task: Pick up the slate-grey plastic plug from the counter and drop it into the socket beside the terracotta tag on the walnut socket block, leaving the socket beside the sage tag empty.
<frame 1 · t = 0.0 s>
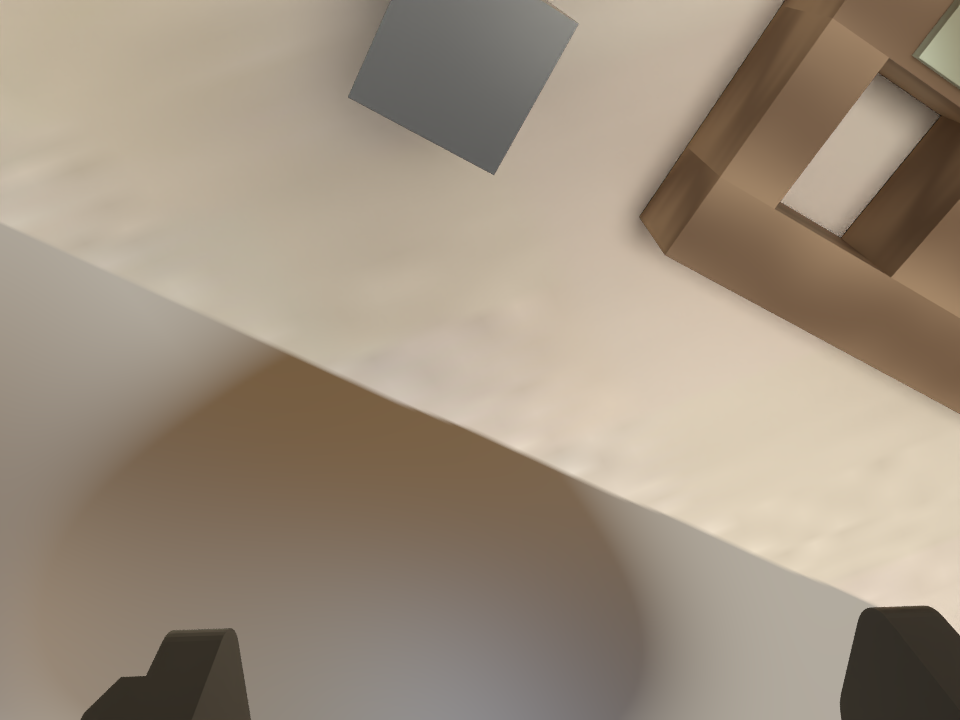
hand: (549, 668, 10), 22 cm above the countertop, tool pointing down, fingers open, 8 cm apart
socket block: (924, 202, 30), on the countertop
plug: (454, 15, 26), on the countertop
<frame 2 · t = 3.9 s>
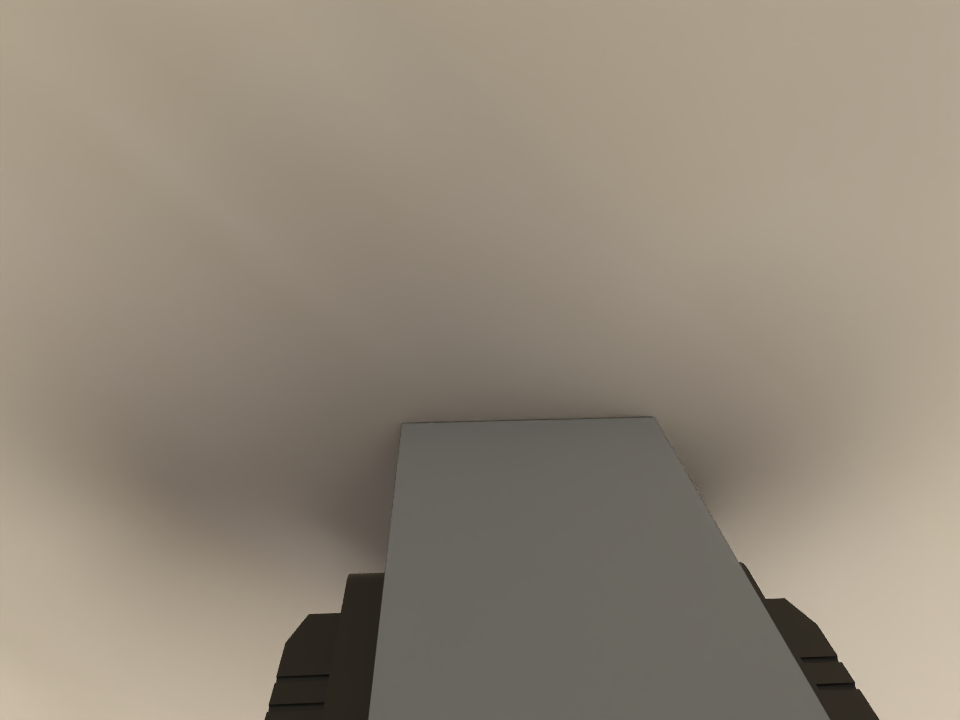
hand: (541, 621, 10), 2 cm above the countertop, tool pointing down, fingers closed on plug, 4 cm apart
plug: (526, 526, 13), on the countertop, touching gripper
when the fingers open (5 cm above the countertop, at t = 11.7 s): plug drops 3 cm, resting in socket block.
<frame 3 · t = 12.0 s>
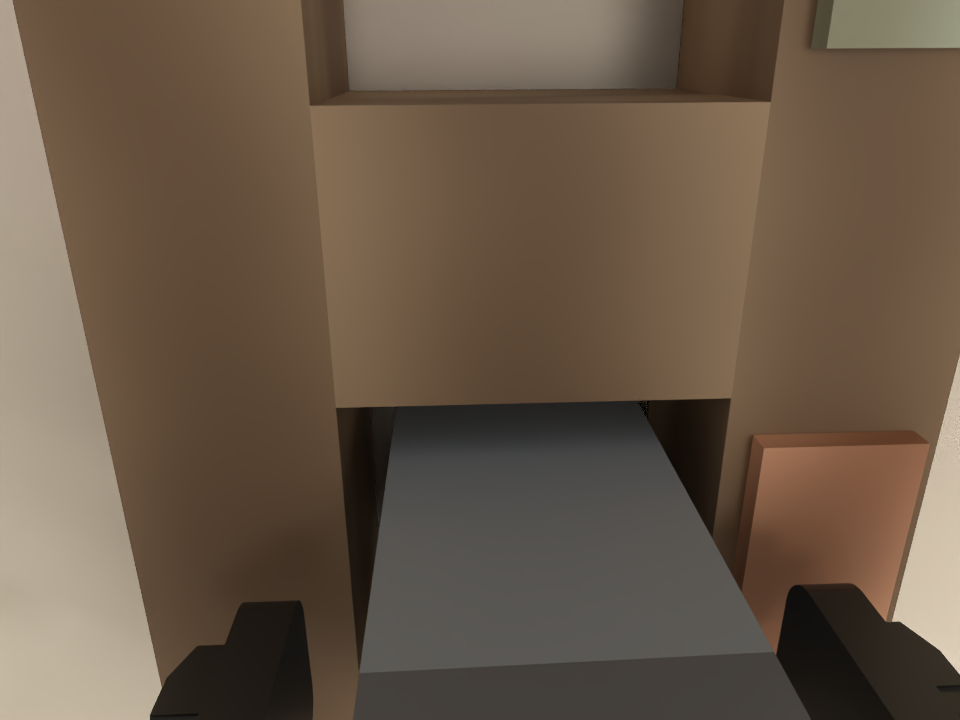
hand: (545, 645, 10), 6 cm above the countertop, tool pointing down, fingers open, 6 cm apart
socket block: (512, 207, 14), on the countertop
plug: (507, 443, 15), resting in socket block
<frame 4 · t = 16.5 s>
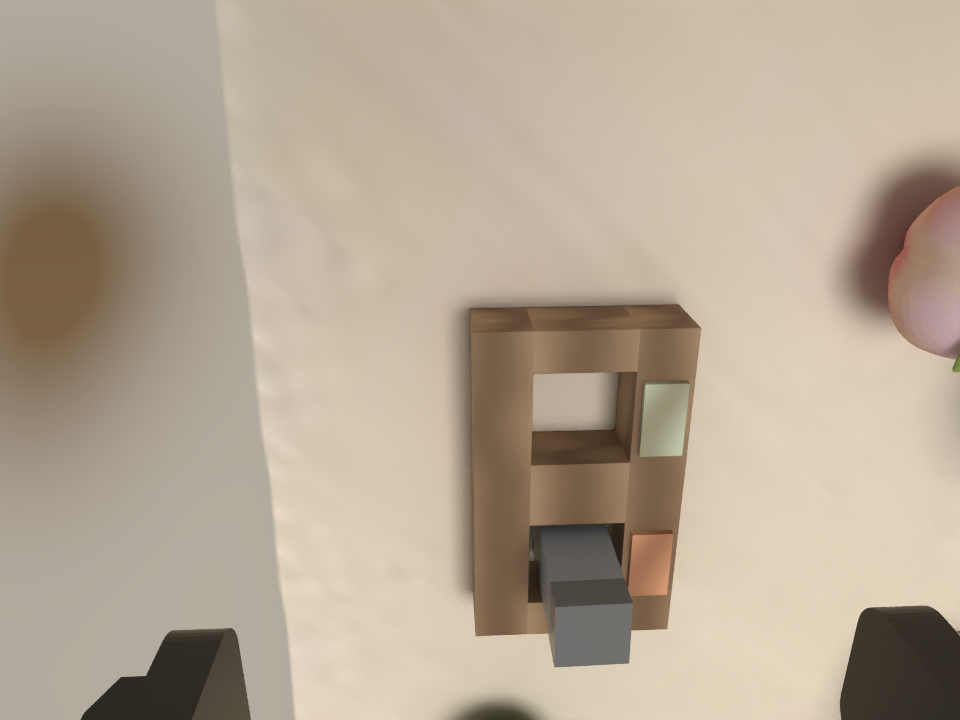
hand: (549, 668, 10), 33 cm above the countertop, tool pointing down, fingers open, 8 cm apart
socket block: (568, 459, 47), on the countertop
plug: (564, 524, 48), resting in socket block
decorative fruit: (925, 248, 43), on the countertop
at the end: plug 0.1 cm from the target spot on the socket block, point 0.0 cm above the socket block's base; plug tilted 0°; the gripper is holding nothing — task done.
